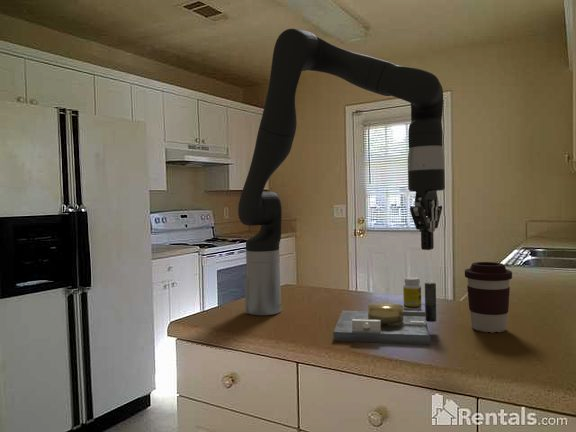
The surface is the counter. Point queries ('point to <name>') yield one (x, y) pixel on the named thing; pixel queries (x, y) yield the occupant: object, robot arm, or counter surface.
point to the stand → (380, 329)
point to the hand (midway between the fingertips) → (427, 249)
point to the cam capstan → (395, 312)
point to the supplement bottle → (412, 293)
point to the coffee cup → (488, 295)
